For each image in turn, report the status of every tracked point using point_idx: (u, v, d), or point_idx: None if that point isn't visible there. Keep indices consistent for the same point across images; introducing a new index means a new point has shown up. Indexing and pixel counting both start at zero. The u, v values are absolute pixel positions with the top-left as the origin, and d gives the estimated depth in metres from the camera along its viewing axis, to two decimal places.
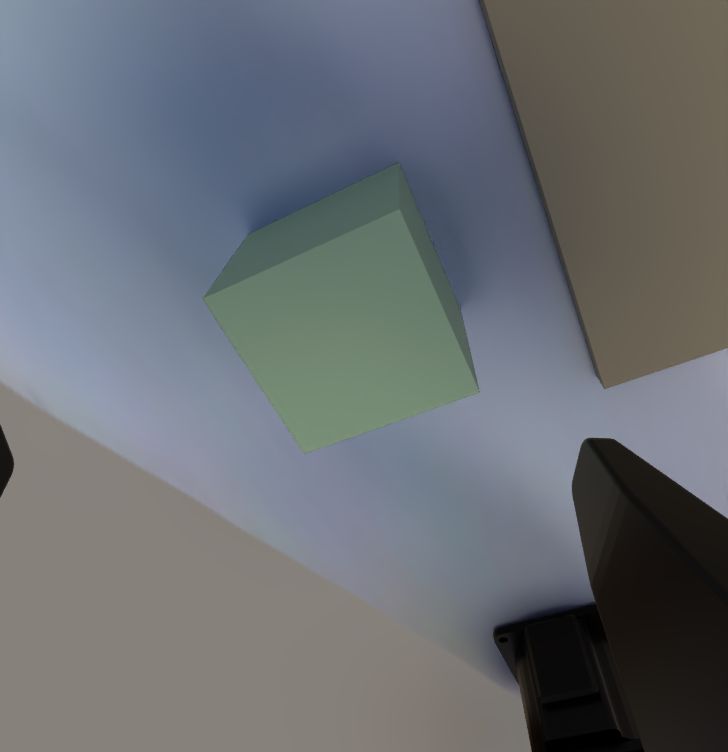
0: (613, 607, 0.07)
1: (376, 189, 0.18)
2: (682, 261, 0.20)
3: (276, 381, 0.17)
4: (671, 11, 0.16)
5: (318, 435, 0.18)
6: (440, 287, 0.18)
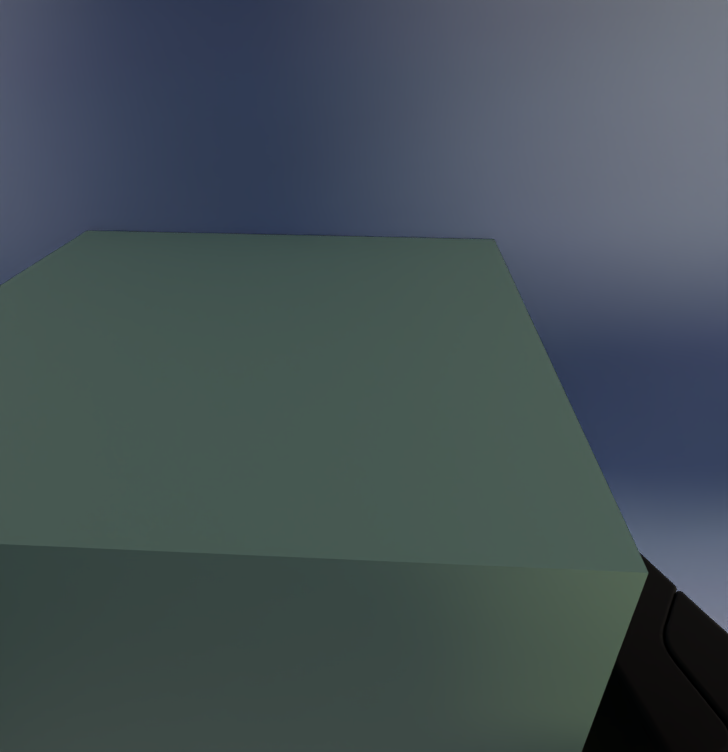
0: None
1: None
2: None
3: None
4: None
5: None
6: (223, 383, 0.05)
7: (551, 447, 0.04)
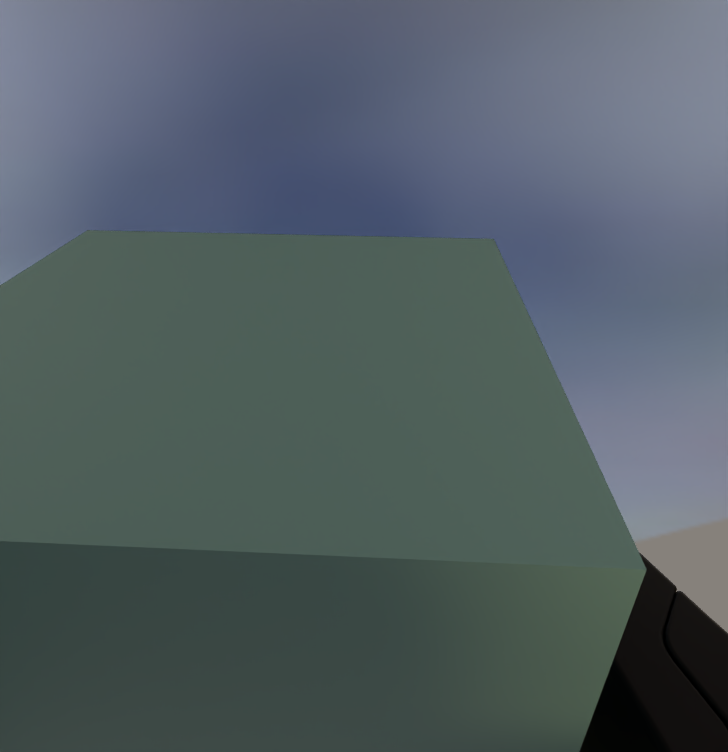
0: None
1: None
2: None
3: None
4: None
5: None
6: (224, 382, 0.05)
7: (550, 445, 0.04)
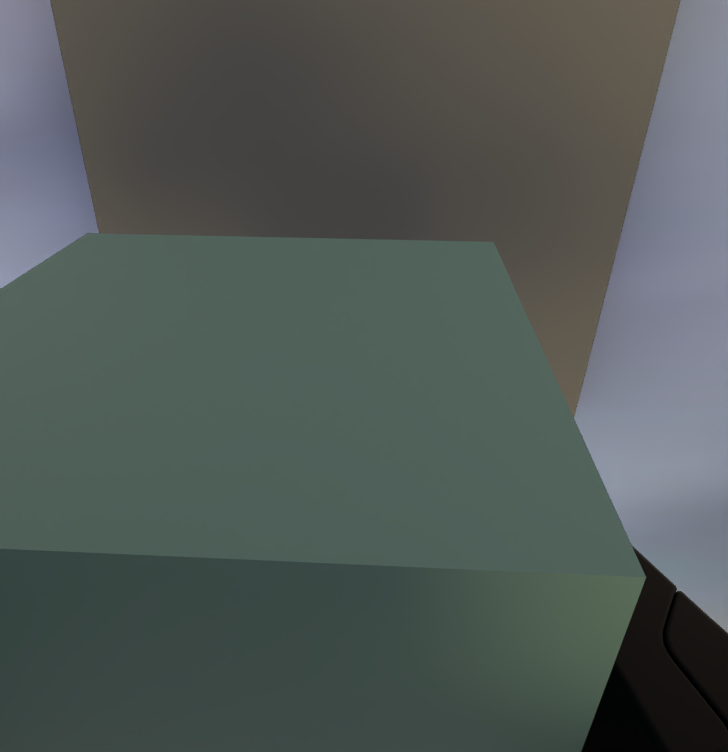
0: None
1: None
2: None
3: None
4: None
5: None
6: (223, 387, 0.05)
7: (550, 451, 0.04)
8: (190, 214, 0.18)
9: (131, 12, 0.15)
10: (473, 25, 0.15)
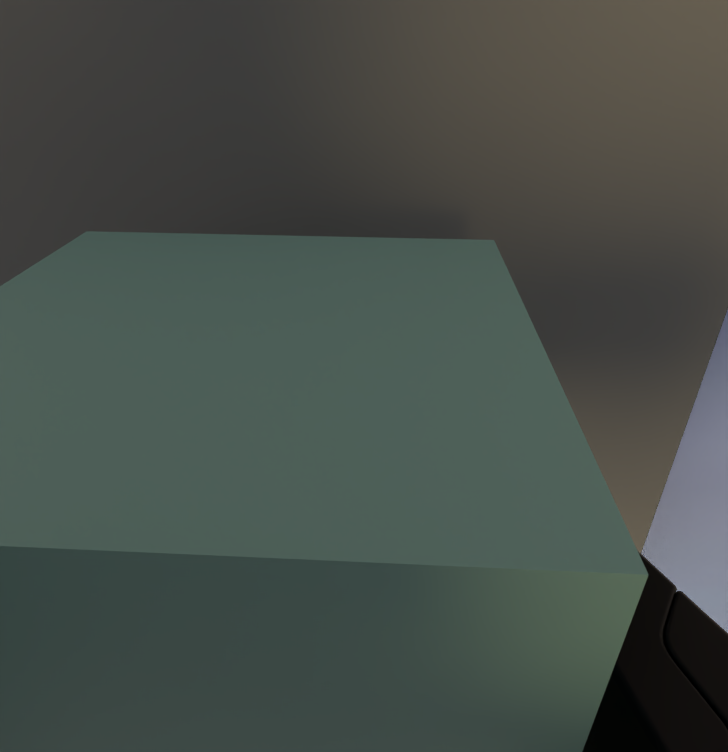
0: None
1: None
2: None
3: None
4: None
5: None
6: (223, 385, 0.05)
7: (551, 449, 0.04)
8: None
9: None
10: (479, 137, 0.10)
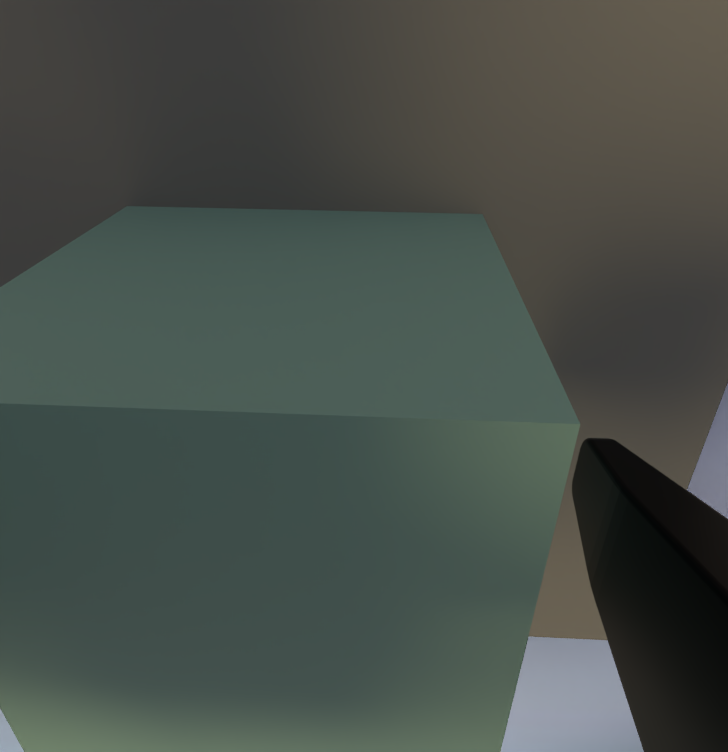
0: (613, 607, 0.07)
1: None
2: None
3: None
4: None
5: None
6: (260, 314, 0.06)
7: (517, 353, 0.05)
8: None
9: None
10: (487, 146, 0.09)
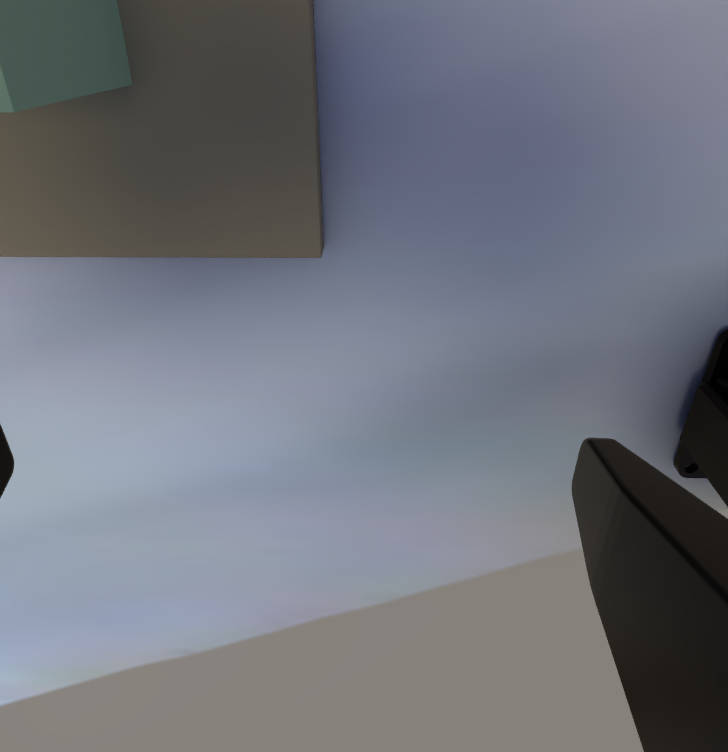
0: (613, 607, 0.07)
1: None
2: (172, 135, 0.17)
3: None
4: None
5: None
6: None
7: None
8: None
9: None
10: None
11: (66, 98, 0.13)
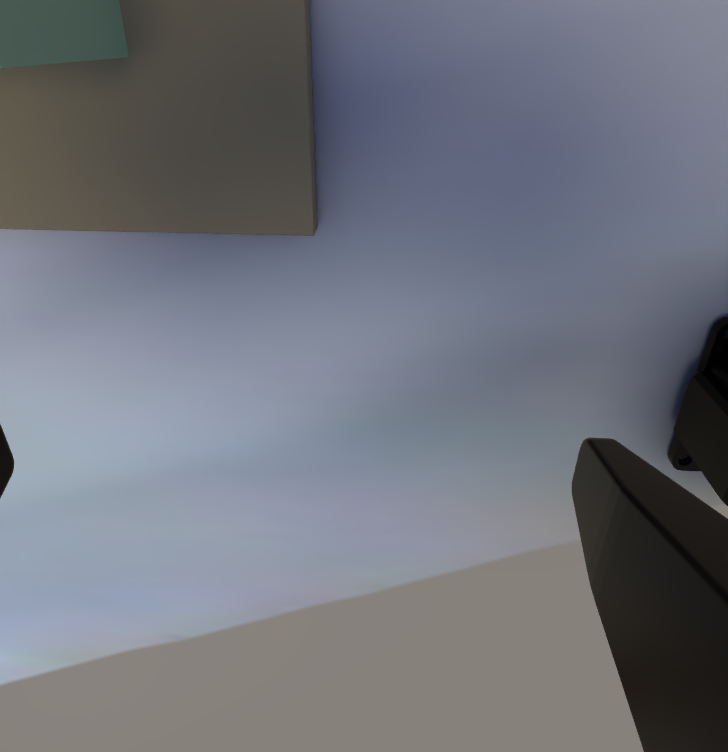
0: (613, 607, 0.07)
1: None
2: (167, 108, 0.17)
3: None
4: None
5: None
6: None
7: None
8: None
9: None
10: None
11: (57, 61, 0.13)
